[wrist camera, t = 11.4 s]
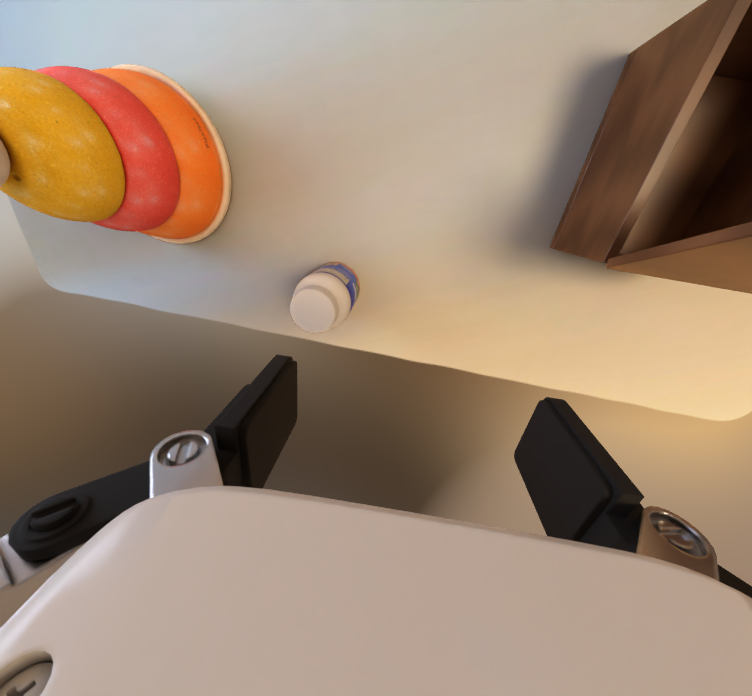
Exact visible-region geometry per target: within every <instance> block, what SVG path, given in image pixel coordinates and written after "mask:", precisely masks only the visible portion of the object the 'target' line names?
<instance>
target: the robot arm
mask: <svg viewBox="0 0 752 696" xmlns="http://www.w3.org/2000/svg"><path fill="white" fill-rule="evenodd" d="M296 420H297V362H296V361H293V359H292V357H289V356H283V355H276V356H275V357H274V358H273V359H272V360H271V361H270V362H269V364H268V365H267V366H266V367H265V368H264V369H263V370H262V372H261V373H260V374H259V375H258V376H257V377H256V378H255V379H254V381H253V382H252V383H251V384H248V385H246V386H245V387H244V388H242V390H241V391H240V392H239V393H238V394H237V395H236V396H235V397H234V399H232V401H231V402H230V403H229V404H228V405H227V406H226V407H225V409H223V411H222V412H221V413H220V414H219V415H218V416H217V417H216V418H215V420H214V421H213V422H212V423H211V424H210V425H209V426H208V427H207V428H206V429H205V431H204V432H203V431H199V430H188V431H184V432H179V433H176V434H174V435H171V436H169V437H167V438H166V439H164V440H162V441H161V442H160V443H159V444H158V445H156V447H155V448H154V449H153V451H152V452H151V455H150V461H148V462H145V463H142V464H139V465H136V466H134V467H131V468H129V469H125V470H122V471H120V472H117V473H114V474H111V475H108V476H106V477H103V478H100V479H98V480H94V481H92V482H89V483H86V484H83V485H80V486H78V487H75V488H72V489H69V490H66V491H64V492H61V493H58V494H56V495H54V496H51V497H49V498H47V499H46V500H43V501H42V502H40V503H38V504H37V505H35V506H33V507H32V508H31V509H30V510H28V511H27V512H26V513H25V514H23V515H22V516H21V517H20V518H19V519H18V521H17V522H16V523H15V524H14V525H13V527H12V529H11V531H10V533H9V534H7V535H5V536H4V537H1V538H0V696H752V586H750V585H749V584H747V583H746V582H744V581H742V580H741V579H739V578H738V577H736V576H735V575H733V574H732V573H730V572H729V571H727V570H725V569H724V568H722V567H721V566H719V565H718V564H717V556H716V553H715V551H714V548H713V547H712V545H711V544H710V543H709V541H708V540H707V539H706V538H705V537H704V536H703V535H702V533H700V532H699V530H697V529H696V528H695V527H693V526H692V525H691V524H690V523H689V522H687V521H686V520H684V519H683V518H681V517H679V516H678V515H676V514H674V513H672V512H670V511H668V510H665V509H662V508H659V507H652V506H650V507H647V508H645V509H644V508H643V507H642V505H641V504H640V501H641V500H642V499H643V498H644V496H643V495H642V494H641V492H640V491H639V490H638V489H637V487H636V486H635V485H634V484H633V483H632V482H631V480H630V479H629V478H628V476H627V475H626V474H625V473H624V472H623V470H622V469H621V468H620V467H619V466H618V464H617V463H616V462H615V461H614V459H613V458H612V457H611V456H610V455H609V453H608V452H607V451H606V450H605V448H604V447H603V446H602V445H601V444H600V443H599V441H598V440H597V439H596V437H595V436H594V435H593V434H592V433H591V432H590V430H589V429H588V428H587V427H586V425H585V424H584V423H583V422H582V420H581V419H580V418H579V417H578V416H577V414H576V413H575V412H574V411H573V409H572V408H571V407H570V406H569V405H568V403H567V402H566V401H564V400H562V399H555V398H549V397H547V398H545V399H544V400H541V401H539V403H538V404H537V406H536V409H535V411H534V413H533V415H532V417H531V419H530V421H529V423H528V425H527V427H526V429H525V431H524V433H523V435H522V437H521V440H520V442H519V444H518V446H517V448H516V450H515V454H514V458H515V462H516V464H517V467H518V469H519V471H520V473H521V476H522V478H523V481H524V483H525V485H526V488H527V490H528V492H529V495H530V497H531V499H532V502H533V504H534V506H535V509H536V511H537V513H538V515H539V518H540V520H541V522H542V525H543V527H544V529H545V532H546V534H547V536H543V535H538V534H532V533H526V532H521V531H515V530H509V529H503V528H498V527H493V526H487V525H481V524H475V523H470V522H464V521H458V520H452V519H446V518H441V517H435V516H429V515H423V514H417V513H411V512H406V511H400V510H393V509H388V508H382V507H376V506H370V505H363V504H358V503H352V502H346V501H339V500H333V499H328V498H322V497H316V496H309V495H302V494H295V493H289V492H282V491H275V490H269V489H262V488H263V486H264V484H265V482H266V480H267V478H268V476H269V474H270V472H271V470H272V469H273V467H274V465H275V463H276V461H277V459H278V457H279V455H280V453H281V451H282V449H283V447H284V445H285V443H286V441H287V439H288V437H289V435H290V433H291V431H292V429H293V428H294V426H295V423H296Z"/></svg>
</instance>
